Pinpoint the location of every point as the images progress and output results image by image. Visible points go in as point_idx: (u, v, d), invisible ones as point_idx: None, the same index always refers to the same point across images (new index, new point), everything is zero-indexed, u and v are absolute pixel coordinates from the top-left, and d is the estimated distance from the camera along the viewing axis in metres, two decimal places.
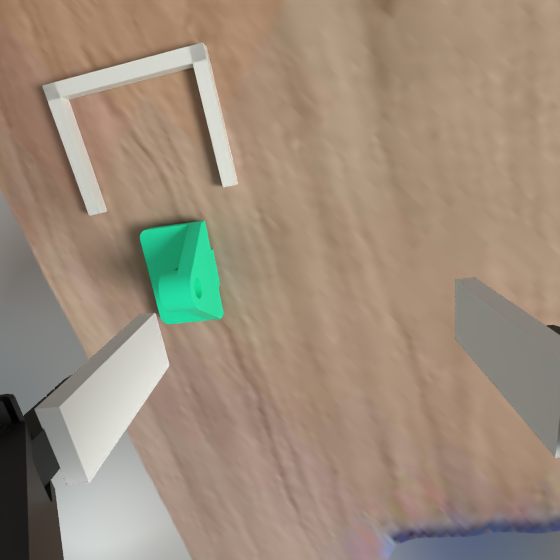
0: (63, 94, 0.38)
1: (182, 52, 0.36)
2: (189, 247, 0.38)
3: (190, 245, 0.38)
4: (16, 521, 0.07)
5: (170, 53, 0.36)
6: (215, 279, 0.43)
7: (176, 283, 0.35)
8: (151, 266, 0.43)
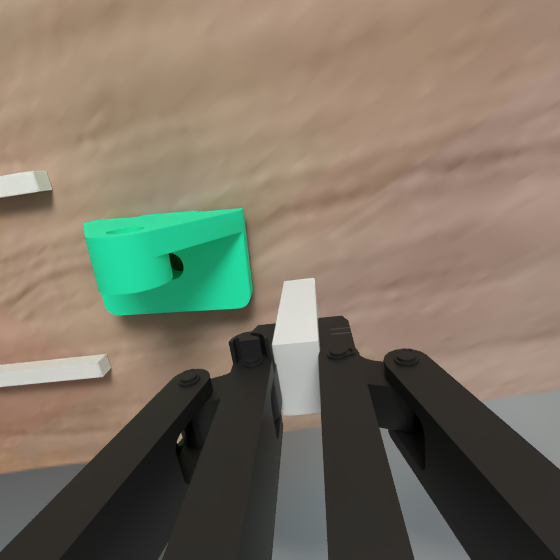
0: None
1: None
2: None
3: None
4: (246, 457, 0.07)
5: None
6: (179, 214, 0.27)
7: (94, 262, 0.20)
8: (158, 307, 0.29)
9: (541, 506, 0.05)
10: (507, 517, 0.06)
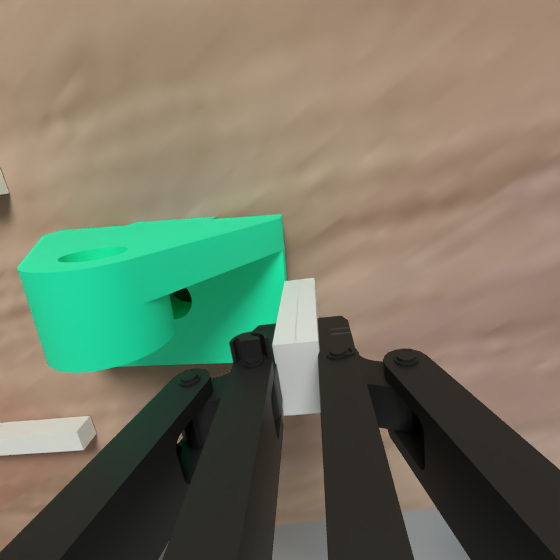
0: None
1: None
2: None
3: None
4: (246, 456, 0.07)
5: None
6: (186, 222, 0.18)
7: (33, 314, 0.11)
8: (153, 357, 0.20)
9: (541, 506, 0.05)
10: (507, 517, 0.06)
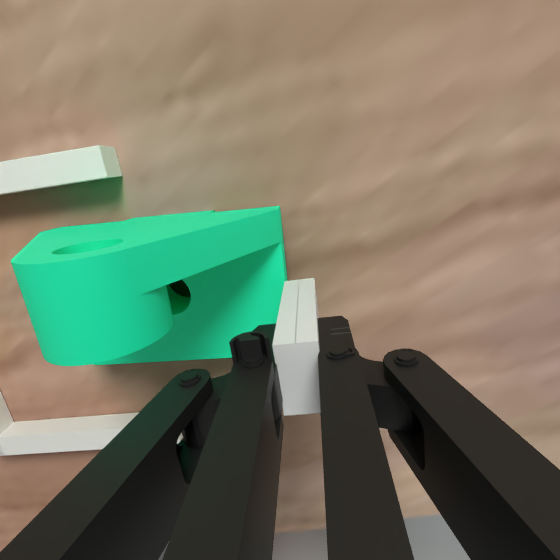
0: None
1: None
2: None
3: None
4: (246, 457, 0.07)
5: None
6: (183, 216, 0.18)
7: (28, 307, 0.11)
8: (154, 353, 0.20)
9: (540, 506, 0.05)
10: (506, 517, 0.06)
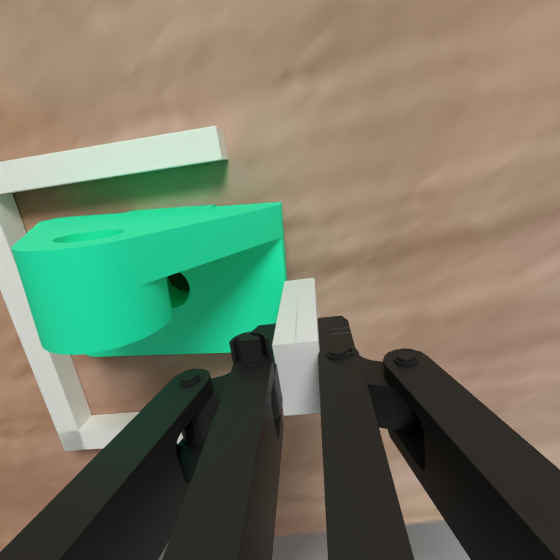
0: (73, 425, 0.23)
1: None
2: None
3: None
4: (246, 456, 0.07)
5: None
6: (184, 209, 0.18)
7: (27, 295, 0.11)
8: (151, 346, 0.20)
9: (541, 506, 0.05)
10: (507, 517, 0.06)
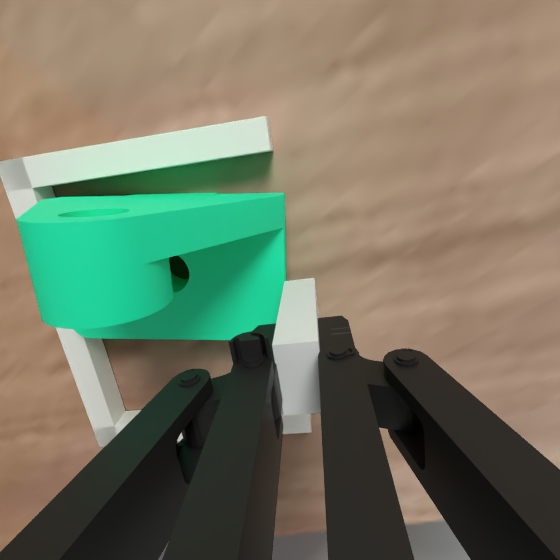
0: (109, 420, 0.23)
1: (17, 205, 0.19)
2: None
3: None
4: (246, 456, 0.07)
5: None
6: (187, 195, 0.18)
7: (31, 267, 0.11)
8: (147, 330, 0.20)
9: (541, 506, 0.05)
10: (507, 518, 0.06)
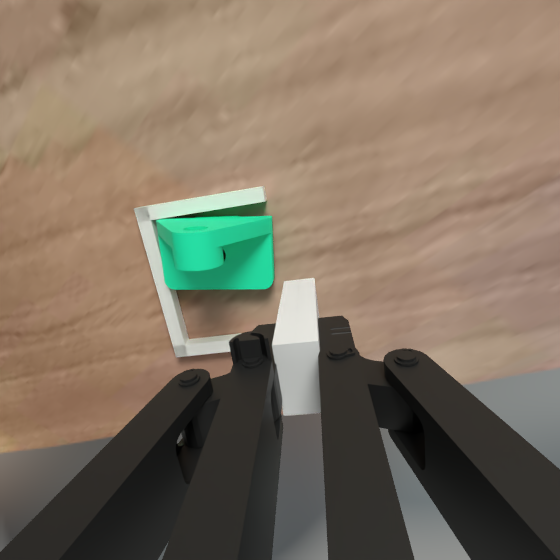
0: (182, 341, 0.42)
1: (143, 228, 0.38)
2: (163, 233, 0.34)
3: (162, 232, 0.34)
4: (246, 456, 0.07)
5: (145, 240, 0.39)
6: (225, 217, 0.37)
7: (176, 248, 0.30)
8: (204, 285, 0.39)
9: (541, 506, 0.05)
10: (507, 517, 0.06)
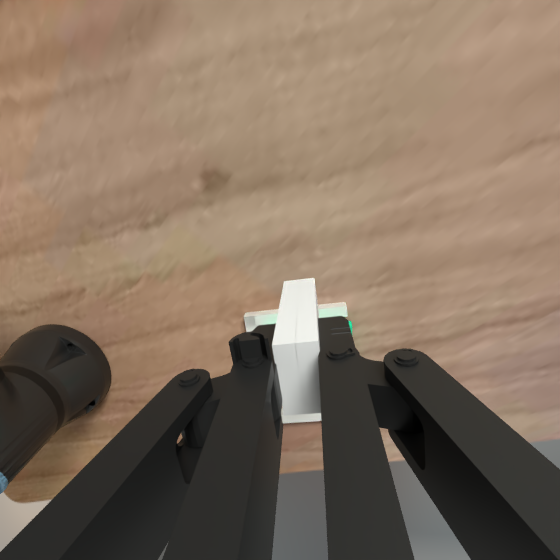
0: None
1: (249, 331, 0.50)
2: None
3: None
4: (246, 456, 0.07)
5: None
6: None
7: None
8: None
9: (541, 506, 0.05)
10: (506, 517, 0.06)
